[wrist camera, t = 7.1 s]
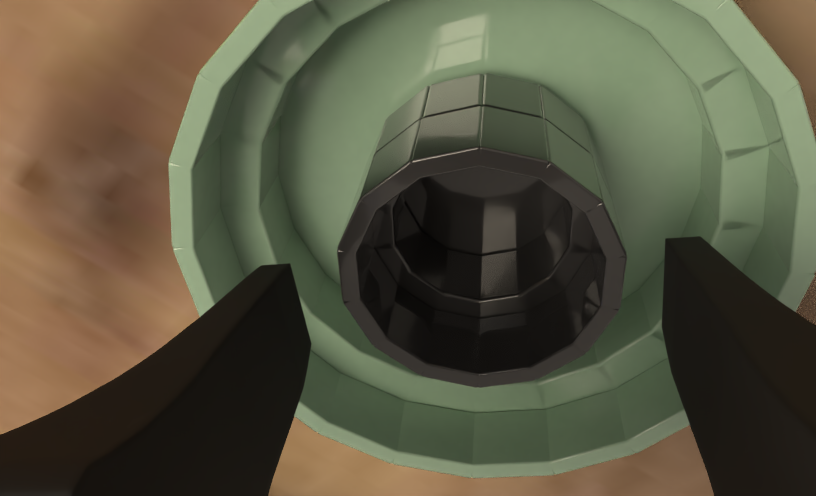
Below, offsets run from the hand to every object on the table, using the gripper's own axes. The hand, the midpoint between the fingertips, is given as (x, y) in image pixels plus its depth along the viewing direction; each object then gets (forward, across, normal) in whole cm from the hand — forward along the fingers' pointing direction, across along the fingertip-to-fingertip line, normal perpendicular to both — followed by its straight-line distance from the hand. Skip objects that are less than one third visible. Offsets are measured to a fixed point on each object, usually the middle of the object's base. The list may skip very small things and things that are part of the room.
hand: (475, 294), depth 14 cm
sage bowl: (+5, 0, 0) cm, 5 cm away
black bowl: (+5, 0, 0) cm, 5 cm away
